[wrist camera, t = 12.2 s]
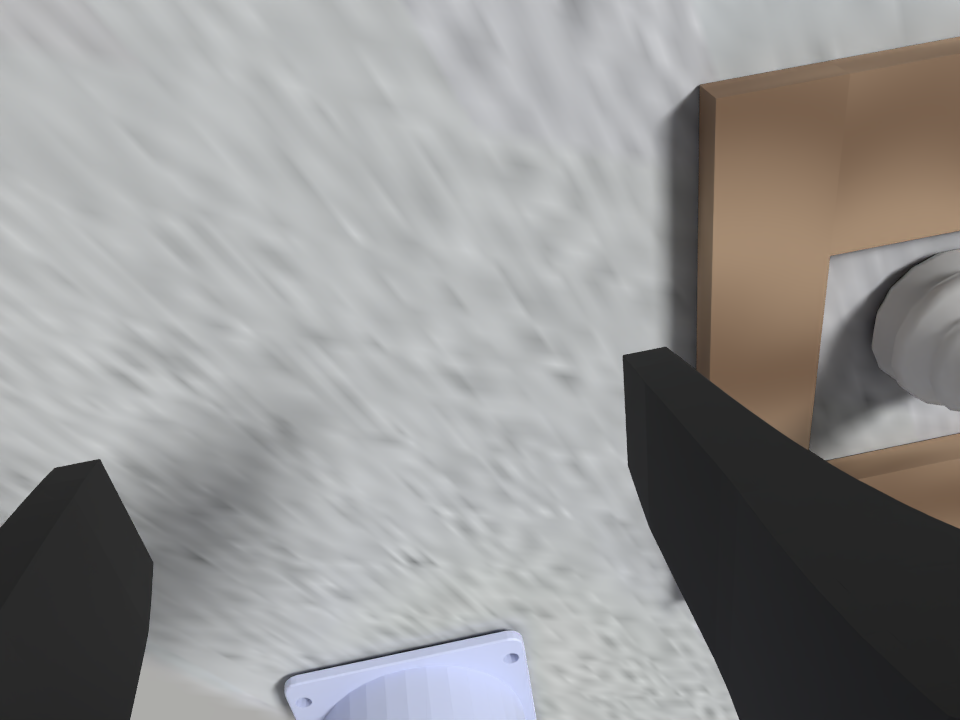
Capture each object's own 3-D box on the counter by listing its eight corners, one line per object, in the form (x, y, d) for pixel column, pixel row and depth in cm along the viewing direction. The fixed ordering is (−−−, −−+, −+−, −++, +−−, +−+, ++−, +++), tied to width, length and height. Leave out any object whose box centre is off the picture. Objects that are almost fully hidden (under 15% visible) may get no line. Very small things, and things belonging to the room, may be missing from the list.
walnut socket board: (1088, 501, 30) (1110, 521, 29) (693, 584, 29) (704, 608, 29) (1285, -24, 20) (1326, -15, 19) (699, 85, 20) (716, 98, 19)
